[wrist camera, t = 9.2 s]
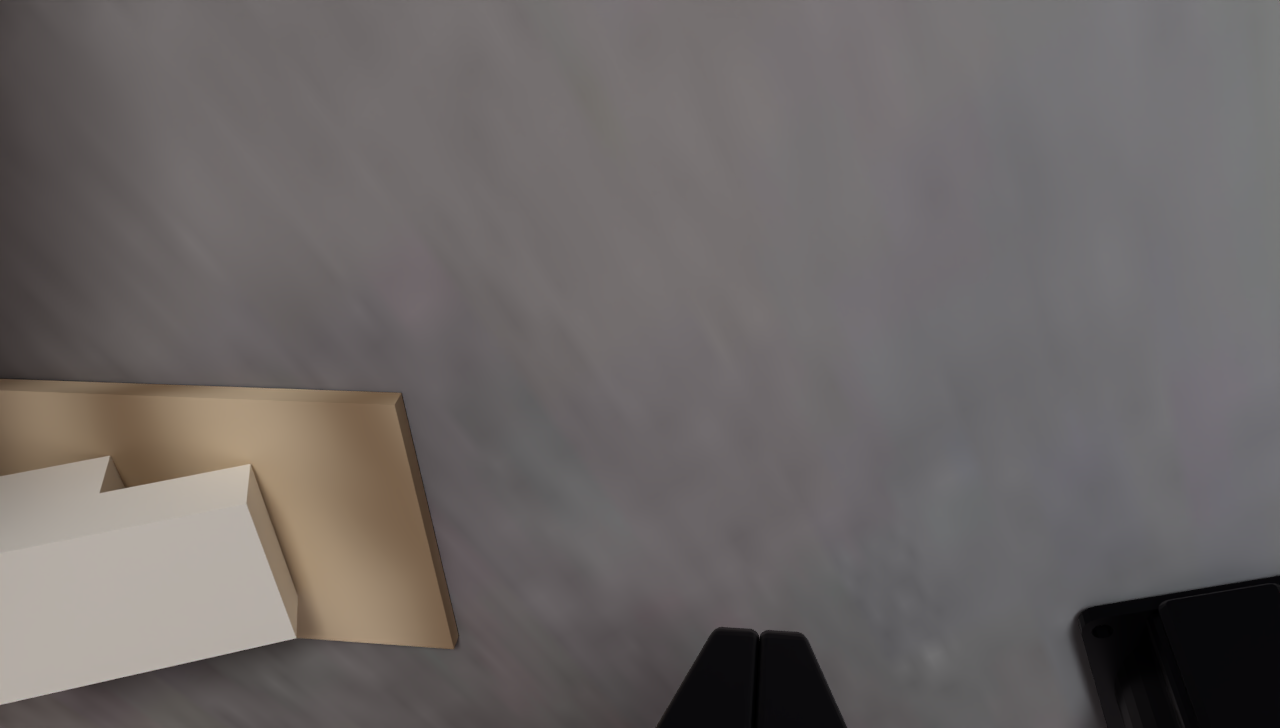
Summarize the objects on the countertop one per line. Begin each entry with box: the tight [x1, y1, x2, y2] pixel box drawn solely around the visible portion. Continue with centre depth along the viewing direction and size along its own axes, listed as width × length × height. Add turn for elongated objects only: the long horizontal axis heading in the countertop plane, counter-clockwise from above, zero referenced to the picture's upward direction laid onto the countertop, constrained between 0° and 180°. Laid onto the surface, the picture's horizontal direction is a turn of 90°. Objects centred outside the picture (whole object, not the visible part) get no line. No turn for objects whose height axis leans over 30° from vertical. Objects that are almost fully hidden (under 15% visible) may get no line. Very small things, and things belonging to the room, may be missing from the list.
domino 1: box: [0, 464, 298, 705], centre depth 27 cm, size 2×5×10 cm
